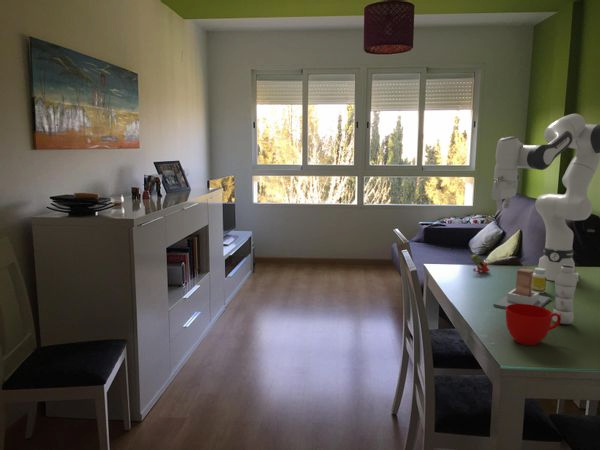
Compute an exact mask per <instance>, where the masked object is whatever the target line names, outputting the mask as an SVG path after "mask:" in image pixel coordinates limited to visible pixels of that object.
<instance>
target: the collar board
mask: <svg viewBox="0 0 600 450" xmlns="http://www.w3.org/2000/svg"><path fill="white" fill-rule="evenodd" d="M515 293H516V288H513V289H512V290H510V291H509V292H507V294H506V295H505V296H503V297H502V298H500V299H499V300H497V301H496V302H494V303H493V307H494V308H500V309H503V310H506V307H507V306H508V305H511V304H529V305H535V306H539V307H542V308H543V307H544V306H546V304H547V303H548V302H550V301H551V297H549V296H547V295H546V296H545V295H540V293H537V292H532V291H531V297H528V296H523V295H518V294H515Z"/></svg>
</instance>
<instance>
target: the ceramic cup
mask: <svg viewBox="0 0 600 450" xmlns="http://www.w3.org/2000/svg"><path fill="white" fill-rule="evenodd" d="M553 316H557V317H558V319H557V321H556V322H554V324H551V323H552V321H553V319H552V317H553ZM505 321H506V322H505V323H506V328H507V330H508V332H509V334H510V336H511V337H512V338H513V339H514V341H515V342H517V343H518V344H521V345H524V346H525V345H527V346H536V345H538V344H539V343H540V342H542V341H543V340H544V339H545V338H546V337H547V335H548V333H549V331H551V330H554V329H555V328H557V327H558V326H559V325H560V321H561V317H560V315H559V314H557V313H552V311H551V310H550V309H548V308H545V307H543V306H542V307H539V306H535V305H529V304H511V305H508V306H507V307H506V309H505Z"/></svg>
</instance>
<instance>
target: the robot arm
mask: <svg viewBox="0 0 600 450" xmlns="http://www.w3.org/2000/svg"><path fill="white" fill-rule="evenodd" d="M544 139H545V142H546V143H547V144H524V143H523V142H521V141H520V140H519V137H518V136H511V135H510V136H504V137H501V138H500V139H499V140H498V141H497V145H496V151H495V166H494V173H493V180H494V181H493V184H492V188H491V189H492V190H491V199H492V200H495V204H496V210H497V211H502V209H503V208H504V209H509V208H510V204H511V203H512V202H511V201H512V198H514V197H516V195H517V190H518V186H519V185H518V183H519V180H520V174H519V173H518V170H519V169H533V170H538V171H539V170H540V171H543V170H546V169H548V167H550V166H551V165H552V163H553V161H554V160H555V159H556V158H557V157H558V156H559V155H561V154H562V153H563V152H564V151H566V150H567V149H574V150H576V153H575V155H574V157H573V158H572V159H571V161H570V162H569V164H568V166H567V168H566V170H565V173H564V174H563V176H562V179H561V182H562V184H563V186H564V188H566V191H565V193H564V194H560V193H550V192H549V193H542V194H540V195H539V196H538V197H537V199H536V200H535V205H534V208H535V209H536V210H535V211H536V212H537V213H538V214H539V215H540V216H541V218H542V221H543V223H544V228H545V243H544V244H545V246H544V247H543V256H541V257H540V258H539V261H538V267H537V268H543V269H545V273H544V274H545V275H546V281H552V282H555V279H556V277H557V276H558V275H559V274H560V273H561V271H560V270H561V266H562V265H567V266H572V267H574V269H573V271H574V272H573V273H572V274H573V276H574V277H575V279H576V282H577V283H579V278H580V277H579V272H577V270H576V269H575V267H576V266H575V264H576V263H575V261H574V258H573V257H574V250H573V243H574V236H575V235H574V232H573V230H572V229H571V228H570V227H569V226H568V224H567V223H566V220H568V221H585V220H587V219H588V218H589V217H590V216H591V215H592V212H593V204H592V202H591V200H590V199H589V197H588V190H589V187H590V183H591V182H592V180H593V177H594V175H595V173H596V171H597V169H598V166H599V163H600V124H594V123H593V124H589V123H588V124H587V122H586V119H585V118H584V116H583V115H581V114H579V113H571V114H567V115H565V116H562V117H560V118H559V119H556V120H555V121H553V122H552V123H550V124H549V125H548V126H547V127H546V128H545V130H544ZM503 200H504V201H505V202H504V204H503V205H502V202H503ZM533 273H535V271H533Z"/></svg>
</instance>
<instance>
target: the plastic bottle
mask: <svg viewBox="0 0 600 450" xmlns="http://www.w3.org/2000/svg"><path fill="white" fill-rule="evenodd" d="M573 269H574V270H575V266H574V267H572V266H567V265H562V266H561V270H560V271H561V273H560V274H559V275H558V276H557V277H556V279H555V281H554V288H555V290H554V291H555V294H554V295H555V297H554V298H555V300H554V305H553V308H552V311H551V312H552V313H557V314H559V315H560V317H561V321H560V323H559V325H560V324H561V325H571V324H572V323H573V322H574V319H575V318H574V316H575V315H574V297H575V293H576V288H577V283H578V282H576V279H575V277H574V276H573V274H572V273H573V272H574V271H573ZM557 319H558V317H557V316H553V317H552V321H553V322H554V323H556V321H557Z"/></svg>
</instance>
